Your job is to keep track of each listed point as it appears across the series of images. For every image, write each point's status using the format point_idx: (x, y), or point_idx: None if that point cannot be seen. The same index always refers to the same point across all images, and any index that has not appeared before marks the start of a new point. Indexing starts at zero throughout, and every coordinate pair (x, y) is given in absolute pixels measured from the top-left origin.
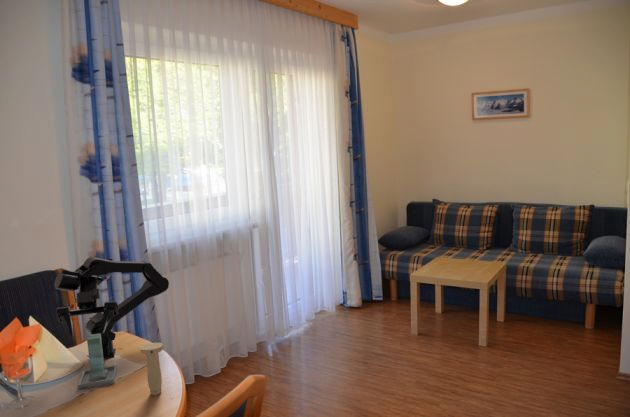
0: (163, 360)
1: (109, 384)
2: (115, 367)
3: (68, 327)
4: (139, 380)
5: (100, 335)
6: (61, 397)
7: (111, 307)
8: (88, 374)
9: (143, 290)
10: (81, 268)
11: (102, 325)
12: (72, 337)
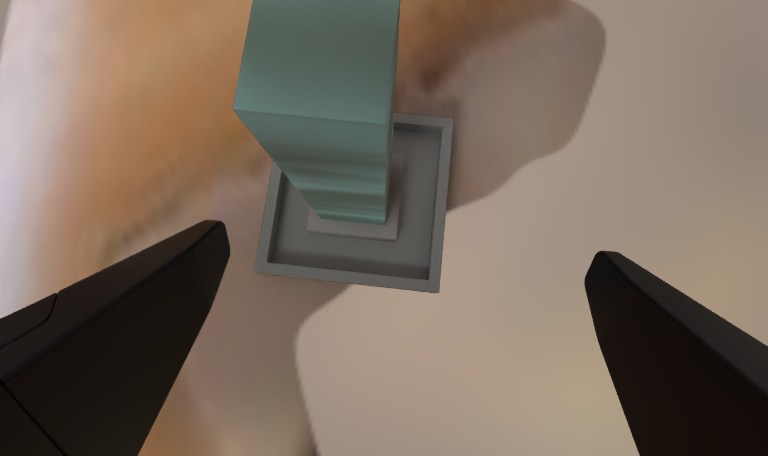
0: (9, 273)
1: None
2: (262, 241)
3: (756, 340)
4: (172, 95)
5: (244, 84)
6: (520, 90)
7: None
8: (410, 261)
9: None
10: None
11: (158, 262)
12: (589, 269)
